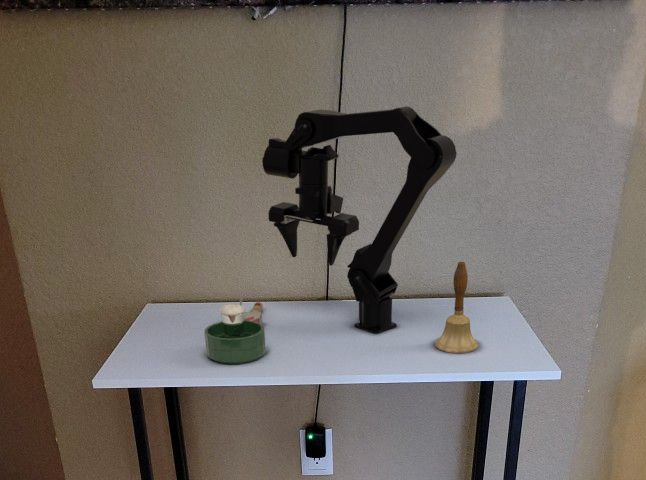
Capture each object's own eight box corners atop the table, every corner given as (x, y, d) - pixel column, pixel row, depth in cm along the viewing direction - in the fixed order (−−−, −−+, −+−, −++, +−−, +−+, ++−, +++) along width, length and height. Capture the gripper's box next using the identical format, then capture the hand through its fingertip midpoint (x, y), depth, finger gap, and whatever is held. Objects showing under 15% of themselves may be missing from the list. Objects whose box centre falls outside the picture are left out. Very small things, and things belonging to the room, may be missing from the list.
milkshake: (255, 349, 144) (251, 297, 139) (237, 357, 141) (233, 305, 135) (237, 344, 147) (232, 294, 141) (219, 353, 143) (214, 301, 138)
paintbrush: (236, 325, 149) (249, 299, 166) (237, 338, 150) (250, 311, 168) (256, 324, 149) (267, 299, 166) (256, 338, 150) (268, 311, 167)
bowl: (277, 354, 144) (276, 329, 141) (230, 370, 137) (227, 343, 134) (242, 340, 151) (240, 315, 148) (195, 354, 144) (192, 329, 142)
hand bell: (474, 355, 141) (482, 269, 133) (431, 351, 143) (435, 266, 135) (480, 340, 148) (487, 257, 139) (438, 336, 150) (443, 255, 142)
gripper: (374, 181, 149) (370, 259, 159) (296, 168, 157) (297, 243, 166) (345, 192, 142) (343, 273, 151) (265, 178, 150) (267, 256, 159)
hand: (312, 260), depth 157 cm, fingers open, 9 cm apart
